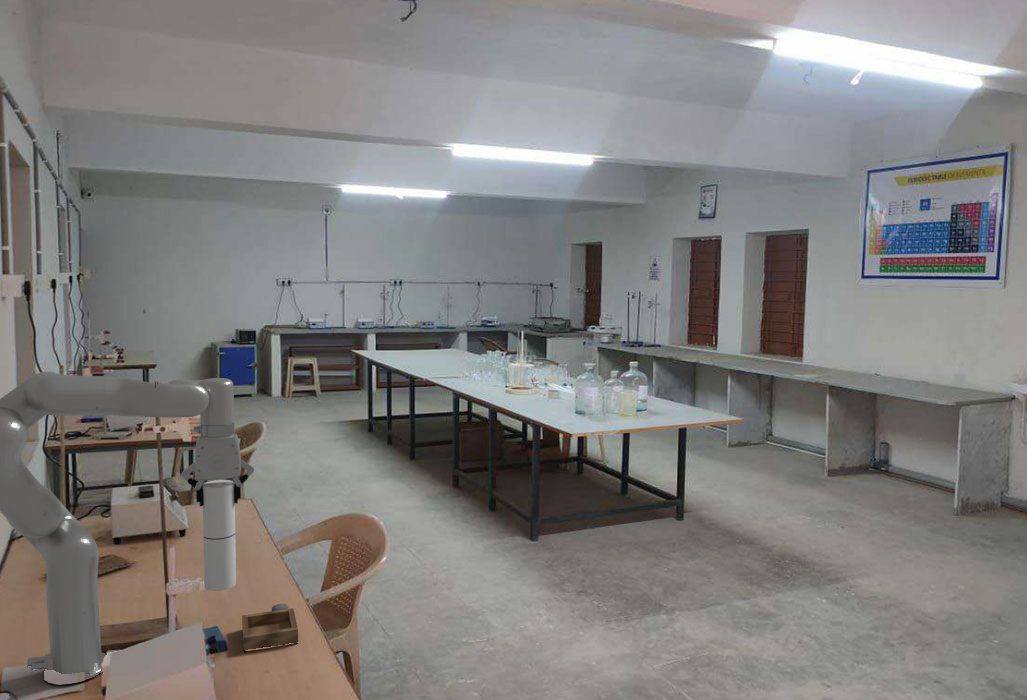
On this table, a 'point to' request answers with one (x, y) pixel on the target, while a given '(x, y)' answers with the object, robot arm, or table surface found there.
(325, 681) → the table surface
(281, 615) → the walnut stand
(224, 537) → the cylindrical container
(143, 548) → the table surface
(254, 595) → the table surface
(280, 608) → the rubber stopper
